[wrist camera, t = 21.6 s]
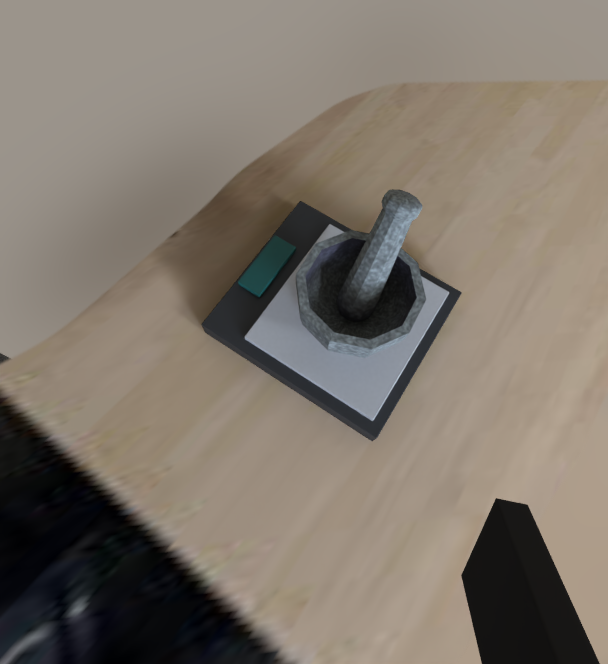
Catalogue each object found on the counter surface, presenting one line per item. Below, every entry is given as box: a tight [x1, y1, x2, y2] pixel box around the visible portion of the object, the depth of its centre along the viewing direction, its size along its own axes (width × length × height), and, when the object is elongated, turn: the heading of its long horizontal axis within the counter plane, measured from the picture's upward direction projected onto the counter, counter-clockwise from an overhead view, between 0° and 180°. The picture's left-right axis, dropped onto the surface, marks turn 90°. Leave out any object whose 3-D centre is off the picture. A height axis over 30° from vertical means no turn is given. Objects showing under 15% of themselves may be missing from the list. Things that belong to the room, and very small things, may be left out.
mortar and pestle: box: [296, 190, 426, 358], centre depth 35 cm, size 11×9×12 cm
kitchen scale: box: [202, 201, 461, 441], centre depth 42 cm, size 18×16×3 cm
